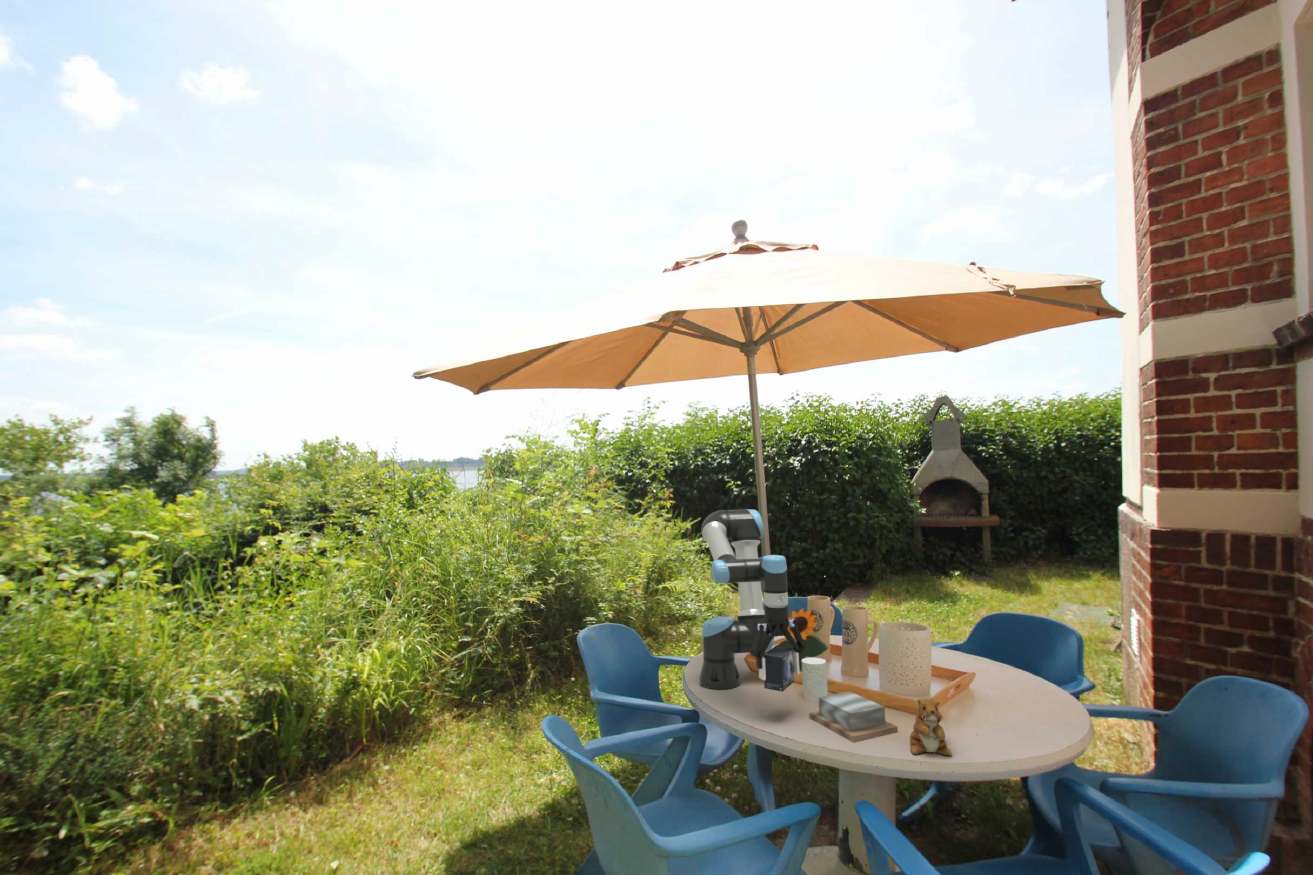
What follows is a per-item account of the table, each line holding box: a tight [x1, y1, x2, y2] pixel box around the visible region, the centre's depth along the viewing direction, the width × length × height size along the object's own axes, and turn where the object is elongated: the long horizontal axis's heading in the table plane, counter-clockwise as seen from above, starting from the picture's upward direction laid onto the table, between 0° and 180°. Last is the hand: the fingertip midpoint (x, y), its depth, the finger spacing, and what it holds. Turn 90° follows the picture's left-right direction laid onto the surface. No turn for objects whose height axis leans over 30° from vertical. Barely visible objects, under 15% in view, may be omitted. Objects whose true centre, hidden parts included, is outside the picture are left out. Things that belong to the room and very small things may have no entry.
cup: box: [801, 657, 829, 702], centre depth 197 cm, size 8×8×12 cm
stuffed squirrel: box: [909, 697, 953, 757], centre depth 157 cm, size 10×14×13 cm
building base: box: [808, 690, 899, 743], centre depth 173 cm, size 20×16×6 cm
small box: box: [763, 645, 795, 693], centre depth 181 cm, size 11×6×10 cm, turn 148°
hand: (779, 675), depth 181 cm, fingers closed on small box, 12 cm apart
